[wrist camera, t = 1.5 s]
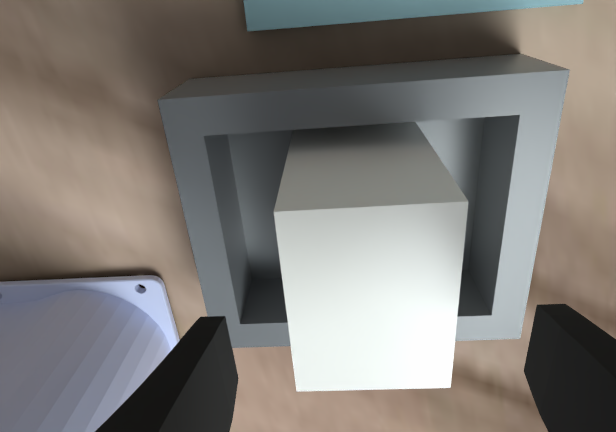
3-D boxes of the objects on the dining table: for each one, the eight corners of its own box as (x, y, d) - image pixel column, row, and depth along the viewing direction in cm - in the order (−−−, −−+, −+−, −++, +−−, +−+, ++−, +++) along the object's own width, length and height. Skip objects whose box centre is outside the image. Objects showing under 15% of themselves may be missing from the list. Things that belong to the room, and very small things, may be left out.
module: (306, 262, 19) (296, 391, 13) (293, 128, 17) (273, 211, 10) (410, 257, 19) (450, 387, 13) (414, 120, 16) (468, 201, 10)
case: (231, 294, 21) (215, 348, 18) (189, 78, 16) (157, 99, 13) (490, 284, 20) (520, 338, 17) (521, 53, 16) (569, 69, 12)
